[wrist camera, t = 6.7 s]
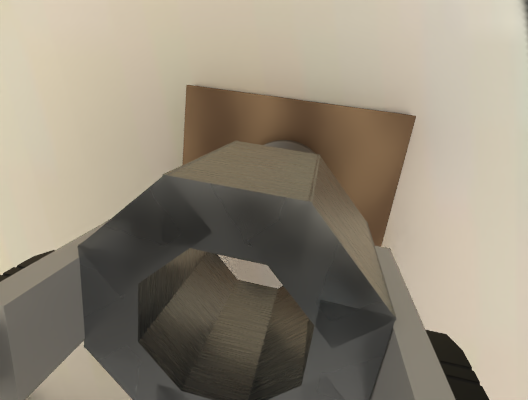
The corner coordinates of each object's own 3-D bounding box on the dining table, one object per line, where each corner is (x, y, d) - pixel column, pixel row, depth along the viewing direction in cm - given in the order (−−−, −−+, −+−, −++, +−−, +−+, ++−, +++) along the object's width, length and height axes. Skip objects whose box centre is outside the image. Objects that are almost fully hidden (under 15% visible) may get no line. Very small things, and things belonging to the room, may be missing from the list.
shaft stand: (186, 229, 28) (125, 287, 20) (194, 85, 25) (123, 77, 16) (370, 264, 26) (395, 346, 18) (410, 115, 23) (467, 124, 14)
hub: (173, 296, 16) (87, 405, 10) (180, 131, 13) (70, 156, 8) (338, 335, 15) (343, 483, 9) (382, 163, 12) (428, 222, 6)
